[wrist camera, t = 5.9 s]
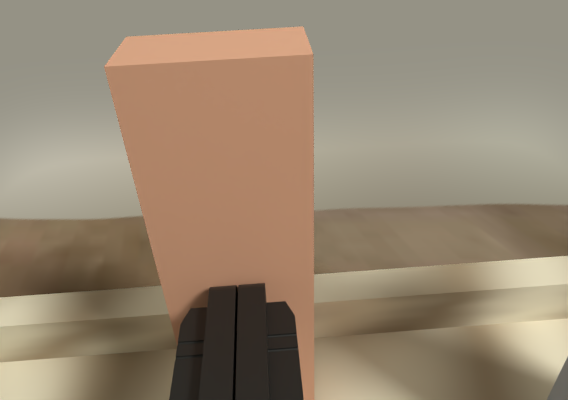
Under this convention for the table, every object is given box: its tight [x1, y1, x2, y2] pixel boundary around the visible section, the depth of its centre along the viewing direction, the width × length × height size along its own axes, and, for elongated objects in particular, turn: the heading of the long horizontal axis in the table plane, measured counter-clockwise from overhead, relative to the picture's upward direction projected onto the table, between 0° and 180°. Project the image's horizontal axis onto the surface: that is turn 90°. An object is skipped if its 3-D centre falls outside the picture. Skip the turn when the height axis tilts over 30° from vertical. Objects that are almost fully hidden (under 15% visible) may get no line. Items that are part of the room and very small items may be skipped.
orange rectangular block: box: [104, 27, 314, 400], centre depth 13 cm, size 4×2×12 cm, turn 93°
